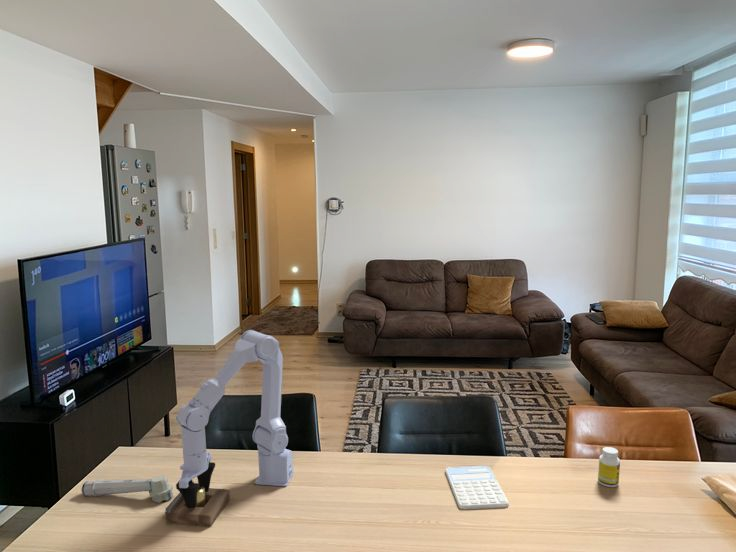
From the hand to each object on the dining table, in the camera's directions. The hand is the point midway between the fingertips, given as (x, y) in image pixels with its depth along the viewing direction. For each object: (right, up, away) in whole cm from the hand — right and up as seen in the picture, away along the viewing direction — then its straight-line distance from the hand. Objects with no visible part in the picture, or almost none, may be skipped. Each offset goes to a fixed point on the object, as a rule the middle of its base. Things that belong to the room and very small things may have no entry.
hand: (198, 499), depth 143 cm
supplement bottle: (+112, 0, +11) cm, 112 cm away
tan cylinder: (0, -3, +1) cm, 3 cm away
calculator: (+74, -1, +10) cm, 75 cm away
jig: (0, -3, +1) cm, 3 cm away
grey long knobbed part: (-22, -3, +8) cm, 23 cm away
